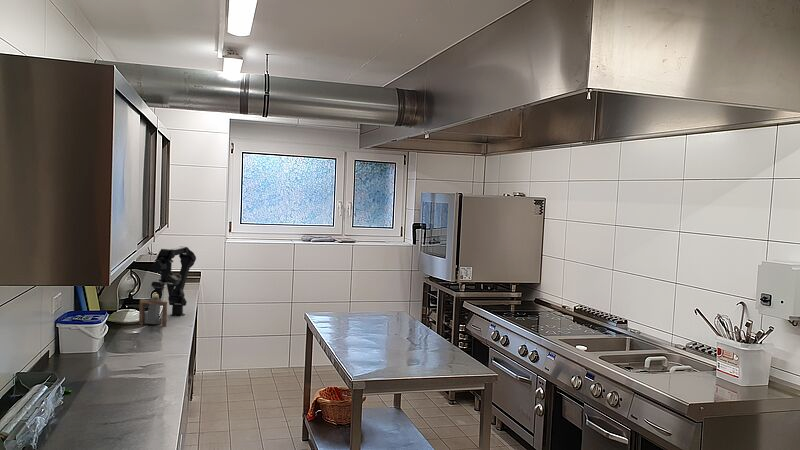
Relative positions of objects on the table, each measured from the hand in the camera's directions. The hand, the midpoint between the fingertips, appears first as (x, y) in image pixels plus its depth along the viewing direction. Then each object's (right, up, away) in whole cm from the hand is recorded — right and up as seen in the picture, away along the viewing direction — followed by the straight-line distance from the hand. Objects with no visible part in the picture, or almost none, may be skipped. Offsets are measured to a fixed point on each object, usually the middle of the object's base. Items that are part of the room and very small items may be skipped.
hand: (165, 297), depth 349 cm
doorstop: (-2, -13, -13) cm, 18 cm away
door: (-6, -13, -6) cm, 15 cm away
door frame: (-1, -14, -15) cm, 20 cm away
